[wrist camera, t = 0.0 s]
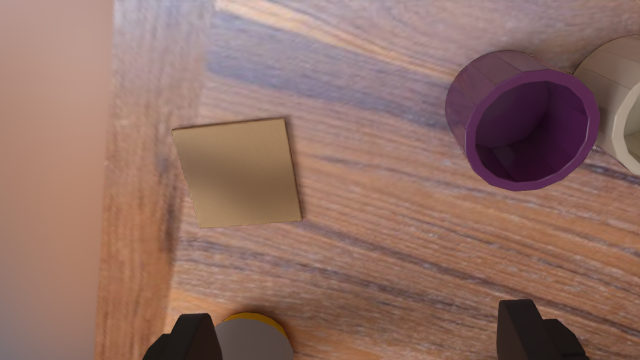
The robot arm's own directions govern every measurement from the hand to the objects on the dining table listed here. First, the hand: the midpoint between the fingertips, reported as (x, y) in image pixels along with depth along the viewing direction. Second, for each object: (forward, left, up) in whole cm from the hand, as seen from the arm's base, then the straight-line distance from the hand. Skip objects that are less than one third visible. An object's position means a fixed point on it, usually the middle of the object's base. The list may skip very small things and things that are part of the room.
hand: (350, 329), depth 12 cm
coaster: (+2, -7, -15) cm, 17 cm away
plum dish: (-1, +8, -15) cm, 17 cm away
